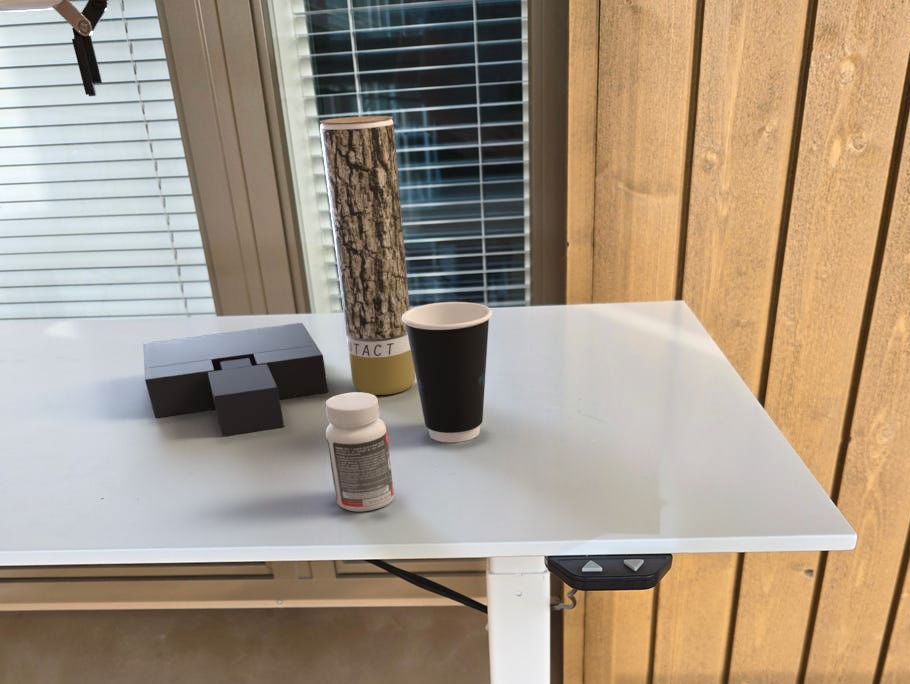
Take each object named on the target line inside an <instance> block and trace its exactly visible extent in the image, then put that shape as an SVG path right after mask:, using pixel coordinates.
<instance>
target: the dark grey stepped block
mask: <svg viewBox="0 0 910 684" xmlns="http://www.w3.org/2000/svg"><path fill="white" fill-rule="evenodd" d="M220 364H221V368H222V370H220V371H213V372H208V377H209V381H210V386H211V390H212V395H213V399H214V404H215V408H216V409H215V412H216V416H217V421H218V424H219V425H218V426H219V428H220V432H221V436H222V437H228V436H234V435H241V434H247V433H254V432H260V431H266V430H272V429H281V428H285V423H284V417H283V411H282V406H281V399H279V394H278V388H277V386H276V383H275V381H274V379H273V377H272V374H271V372H270V370H269V368H268V365H267V364H262V365H255V366H252V364H251V362H250V359H249V358H245V359H238V360H230V361H223V362H220Z"/></svg>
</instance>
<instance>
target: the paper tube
mask: <svg viewBox="0 0 910 684" xmlns="http://www.w3.org/2000/svg"><path fill="white" fill-rule="evenodd" d="M393 118H394V117H393V116H389V115H365V116H362V115H361V116H348V117H338V118H329V119H322V120H319V123H320V126H319V127H320V128H319V130H320V131H319V132H320V137H321V147H322V153H323V154H322V155H323V161H324V169H325V178H326V185H327V186H326V187H327V193H328V201H329V209H330V219H331V226H332V233H333V240H334V249H335V257H336V265H337V271H338V280H339V287H340V296H341V303H342V312H343V319H344V327H345V333H346V342H347V343H346V344H347V350H348V355H349V356H348V357H349V365H350V371H351V380H352V385H353V387H354V388H355V389H356V390H357V392H362V393H369V394H372V395H374V396H387V395H388V396H389V395H394V394H398V393H401V392H404V391H407V390H409V389H410V388H412V386H413V385H415V381H416V375H415V369H414V364H413V359H412V354H411V349H410V344H409V339H408V334H407V328H406V324H405V323H404V322H403V321H402V315H403V314H404V313H405V312H406V311H408V310H410V309H411V307H410V306H411V305H410V297H409V285H408V273H407V260H406V249H405V238H404V225H403V213H402V204H401V192H400V180H399V168H398V167H399V166H398V155H397V146H396V145H397V144H396V133H395V124H394V121H393Z"/></svg>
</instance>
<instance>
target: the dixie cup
mask: <svg viewBox="0 0 910 684" xmlns="http://www.w3.org/2000/svg"><path fill="white" fill-rule="evenodd" d="M492 316H493V312H492V309H491V308H490V307H488V306H487V305H483V304H480V303H475V302H467V301H446V302H445V301H444V302H434V303H428V304H422V305H418V306H416V307H412V308H410V310H408V311H406V312H405V313H404V314H403V315H402V321H403V322H404V323H405V324H406V328H407V334H408V339H409V344H410V349H411V354H412V359H413V364H414V369H415V381H416V384H417V391H418V394H419V399H420V405H421V410H422V415H423V420H424V421H423V422H424V424H425V427H426V428H427V430H428V434H429V438H431V439H432V440H434V441H437V442H441V443H448V444H449V443H461V442H462V443H463V442H467V441H471V440H473V439H475V438H476V437H478V436H479V435H480V431H481V424H483V420H484V404H485V403H484V402H485V388H486V373H487V372H486V371H487V370H486V369H487V357H488V340H489V339H488V338H489V325H490V324H489V323H490V319H491V318H492Z"/></svg>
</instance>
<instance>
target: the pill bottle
mask: <svg viewBox="0 0 910 684" xmlns="http://www.w3.org/2000/svg"><path fill="white" fill-rule="evenodd" d="M379 406H380V405H379V400H378V397H377V395H372V394H369V393H362V392H360V391H357V392H356V391H355V392H346V393H340V394H336V395H334V396H332V397H329V398H328V399H327V400H326V401H325V411H326V419H327V421H328V423H329V424H328V425H327V427H326V429H325V439H326V444H327V450H328V457H329V463H330V469H331V476H332V482H333V487H334V494H335V495H334V496H335V502H336V503H337V505H338V506H339V507H341V508H342V509H344V510H346V511H350V512H356V513H357V512H360V513H361V512H370V511H375V510H379V509H382V508H384V507H386V506H387V505H389V504H390V503H391V502H392V501H393V499H394V497H395V490H394V482H393V474H392V473H393V472H392V466H391V465H392V464H391V457H390V449H389V440H388V439H389V438H388V430H387V426H386V423H385V422H384V421H383V420H382V419H381V418H380V415H381V414H380V408H379Z"/></svg>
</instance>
